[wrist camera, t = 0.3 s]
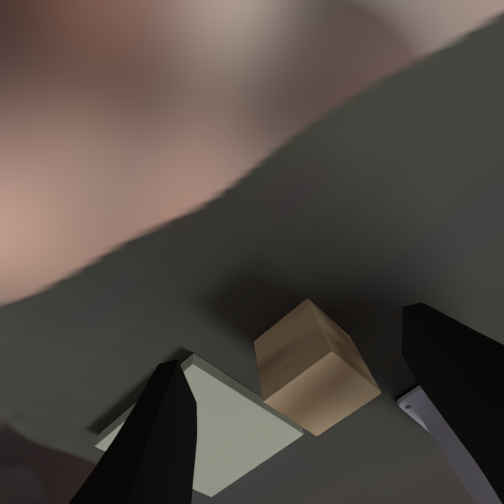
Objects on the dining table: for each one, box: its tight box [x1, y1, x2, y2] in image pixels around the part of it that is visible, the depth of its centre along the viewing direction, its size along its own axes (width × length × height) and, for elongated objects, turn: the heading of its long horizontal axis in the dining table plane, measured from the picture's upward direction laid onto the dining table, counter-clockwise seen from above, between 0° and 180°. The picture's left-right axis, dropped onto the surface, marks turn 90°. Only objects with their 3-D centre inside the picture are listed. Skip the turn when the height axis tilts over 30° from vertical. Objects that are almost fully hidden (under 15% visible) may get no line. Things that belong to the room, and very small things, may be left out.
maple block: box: [254, 298, 381, 436], centre depth 20 cm, size 5×5×5 cm
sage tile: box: [95, 353, 304, 497], centre depth 25 cm, size 12×11×1 cm
